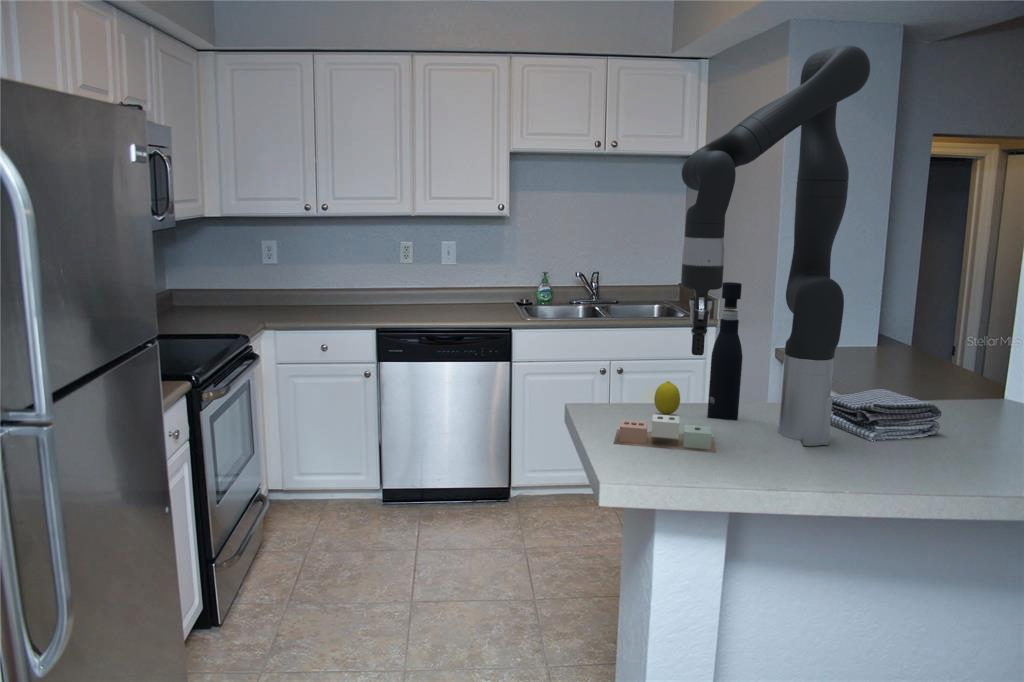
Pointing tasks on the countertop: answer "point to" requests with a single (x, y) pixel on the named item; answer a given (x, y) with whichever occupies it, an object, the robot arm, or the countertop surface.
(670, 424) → the key two
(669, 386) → the lemon
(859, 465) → the countertop surface
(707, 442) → the key one
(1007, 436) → the countertop surface
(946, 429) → the countertop surface
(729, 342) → the wine bottle
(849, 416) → the towel
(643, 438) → the key three
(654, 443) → the board
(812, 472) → the countertop surface
